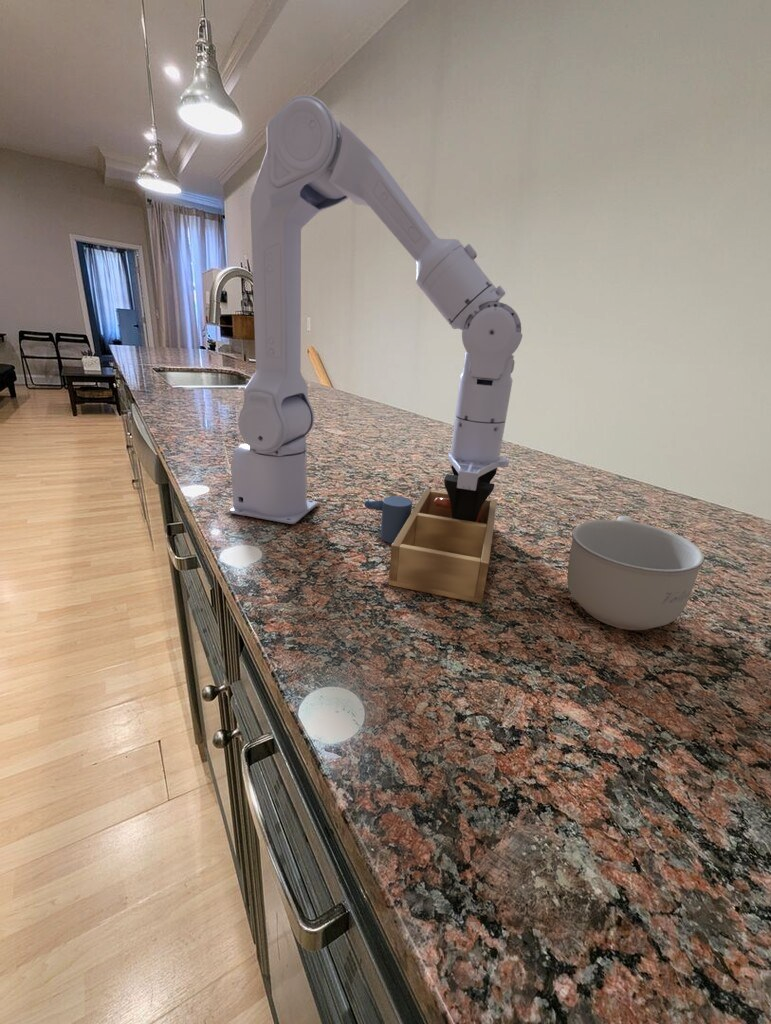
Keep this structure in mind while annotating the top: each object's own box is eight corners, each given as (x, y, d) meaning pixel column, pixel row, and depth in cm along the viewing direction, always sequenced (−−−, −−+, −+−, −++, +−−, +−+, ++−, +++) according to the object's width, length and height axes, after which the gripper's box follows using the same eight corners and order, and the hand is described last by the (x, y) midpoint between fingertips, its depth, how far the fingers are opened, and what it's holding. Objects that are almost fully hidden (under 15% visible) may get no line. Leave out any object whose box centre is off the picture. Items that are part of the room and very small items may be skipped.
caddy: (388, 584, 46) (391, 545, 44) (422, 519, 63) (425, 488, 61) (481, 604, 44) (489, 563, 42) (491, 531, 61) (497, 499, 59)
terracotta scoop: (428, 535, 56) (432, 498, 54) (433, 524, 59) (437, 489, 57) (476, 544, 55) (482, 506, 53) (478, 532, 58) (484, 496, 56)
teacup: (675, 663, 38) (707, 582, 35) (545, 616, 43) (563, 542, 40) (676, 592, 49) (701, 525, 46) (573, 561, 54) (589, 500, 51)
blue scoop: (358, 537, 56) (360, 500, 54) (367, 526, 59) (369, 491, 57) (405, 546, 55) (408, 508, 53) (411, 534, 58) (414, 498, 56)
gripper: (515, 435, 44) (493, 557, 49) (516, 412, 57) (498, 511, 62) (444, 426, 45) (430, 546, 50) (460, 406, 58) (448, 503, 63)
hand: (464, 526), depth 56 cm, fingers open, 4 cm apart
